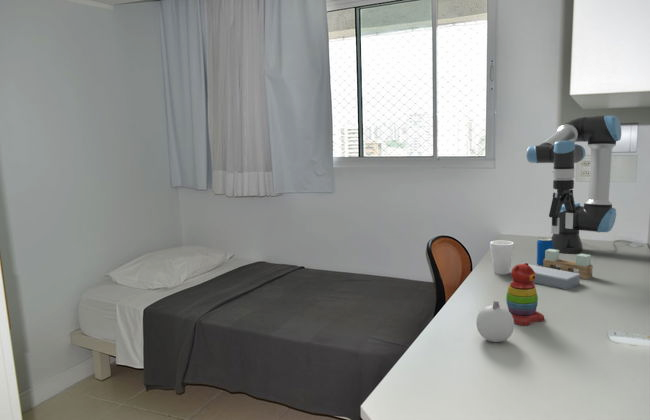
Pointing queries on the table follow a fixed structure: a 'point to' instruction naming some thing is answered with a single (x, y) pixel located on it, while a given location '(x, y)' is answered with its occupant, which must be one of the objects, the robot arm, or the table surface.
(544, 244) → the beverage can
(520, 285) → the stacking bear
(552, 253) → the block
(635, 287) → the table surface
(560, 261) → the tan wooden bar
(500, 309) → the ornament
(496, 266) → the foam cup
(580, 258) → the block
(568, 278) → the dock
